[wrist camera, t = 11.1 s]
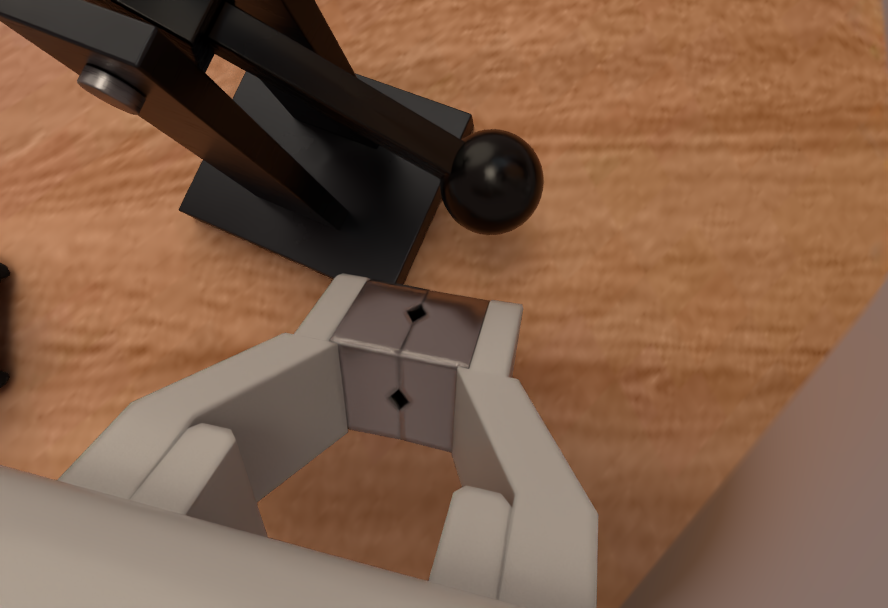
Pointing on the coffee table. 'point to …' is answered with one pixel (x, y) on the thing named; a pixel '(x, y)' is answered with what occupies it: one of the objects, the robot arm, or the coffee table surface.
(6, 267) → the game controller
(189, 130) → the lever bracket
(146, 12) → the press lever
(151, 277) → the coffee table surface
